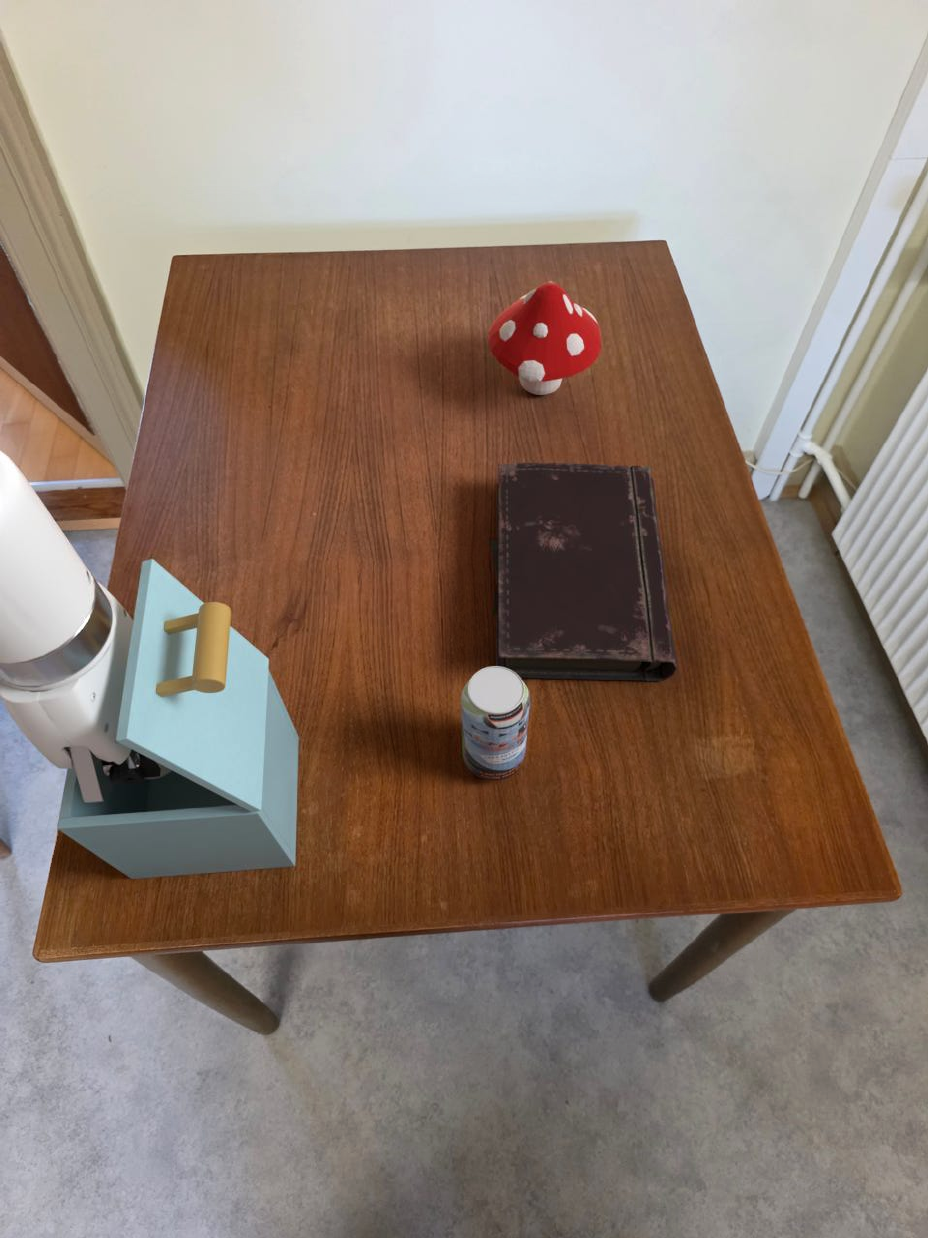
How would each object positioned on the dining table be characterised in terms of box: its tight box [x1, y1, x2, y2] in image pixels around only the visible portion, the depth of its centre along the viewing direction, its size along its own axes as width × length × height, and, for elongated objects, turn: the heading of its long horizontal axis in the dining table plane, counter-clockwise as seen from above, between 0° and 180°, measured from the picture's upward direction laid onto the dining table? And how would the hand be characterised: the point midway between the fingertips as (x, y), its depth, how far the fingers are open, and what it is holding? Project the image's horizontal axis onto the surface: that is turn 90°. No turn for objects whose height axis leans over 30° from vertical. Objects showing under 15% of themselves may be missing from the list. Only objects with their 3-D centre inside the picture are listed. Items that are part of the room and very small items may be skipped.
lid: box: [116, 558, 270, 812], centre depth 56 cm, size 15×13×5 cm
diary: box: [489, 462, 678, 682], centre depth 87 cm, size 19×25×5 cm
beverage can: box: [460, 665, 531, 781], centre depth 74 cm, size 6×7×12 cm
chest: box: [56, 668, 300, 880], centre depth 69 cm, size 15×13×16 cm
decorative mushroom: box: [487, 280, 602, 396], centre depth 98 cm, size 14×14×15 cm
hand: (143, 741), depth 62 cm, fingers closed on pill bottle, 4 cm apart
